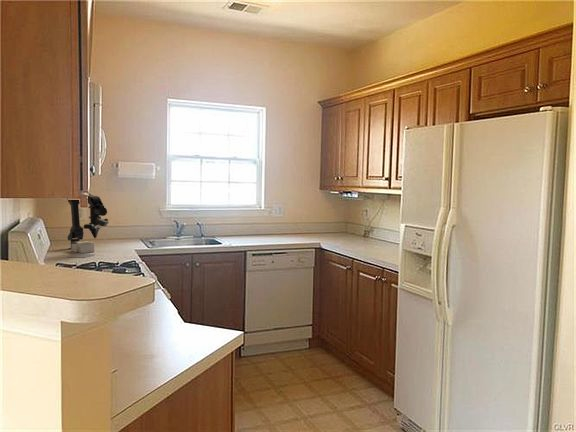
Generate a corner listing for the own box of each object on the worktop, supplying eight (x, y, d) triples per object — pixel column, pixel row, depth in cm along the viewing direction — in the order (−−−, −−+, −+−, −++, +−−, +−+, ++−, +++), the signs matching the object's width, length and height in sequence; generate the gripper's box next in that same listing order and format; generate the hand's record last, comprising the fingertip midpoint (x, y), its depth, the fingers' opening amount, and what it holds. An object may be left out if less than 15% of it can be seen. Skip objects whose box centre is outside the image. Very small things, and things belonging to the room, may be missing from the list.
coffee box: (81, 244, 322) (70, 241, 332) (81, 253, 322) (70, 250, 333) (94, 242, 328) (83, 240, 339) (94, 252, 329) (84, 249, 340)
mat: (78, 254, 319) (78, 253, 319) (95, 254, 318) (95, 254, 318) (67, 257, 308) (67, 256, 308) (84, 257, 306) (84, 257, 306)
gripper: (98, 216, 317) (99, 240, 318) (112, 214, 336) (113, 236, 337) (82, 216, 319) (83, 239, 320) (97, 214, 337) (98, 236, 338)
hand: (95, 238), depth 329 cm, fingers closed
